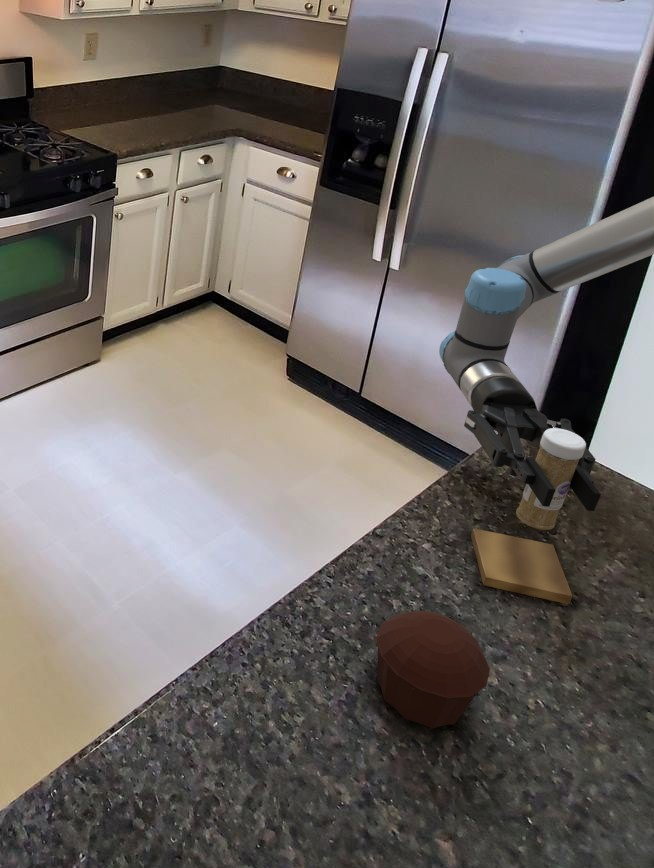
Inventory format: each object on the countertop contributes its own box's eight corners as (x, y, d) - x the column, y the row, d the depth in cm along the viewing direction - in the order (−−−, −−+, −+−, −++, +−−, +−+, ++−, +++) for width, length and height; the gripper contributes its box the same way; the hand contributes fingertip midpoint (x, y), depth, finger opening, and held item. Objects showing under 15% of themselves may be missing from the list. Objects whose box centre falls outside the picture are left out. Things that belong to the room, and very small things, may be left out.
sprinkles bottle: (543, 536, 103) (575, 452, 98) (507, 515, 107) (537, 433, 101) (561, 523, 106) (594, 440, 100) (526, 503, 109) (555, 422, 103)
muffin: (429, 756, 86) (451, 692, 81) (344, 678, 95) (360, 617, 90) (496, 708, 91) (520, 646, 87) (409, 638, 100) (427, 579, 95)
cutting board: (550, 552, 113) (553, 544, 112) (569, 604, 104) (572, 596, 104) (470, 535, 116) (473, 528, 115) (483, 585, 107) (485, 577, 107)
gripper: (553, 423, 119) (639, 531, 98) (429, 412, 122) (487, 515, 101) (569, 380, 116) (661, 483, 95) (440, 370, 119) (503, 468, 98)
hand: (571, 500), depth 98 cm, fingers closed on sprinkles bottle, 4 cm apart
